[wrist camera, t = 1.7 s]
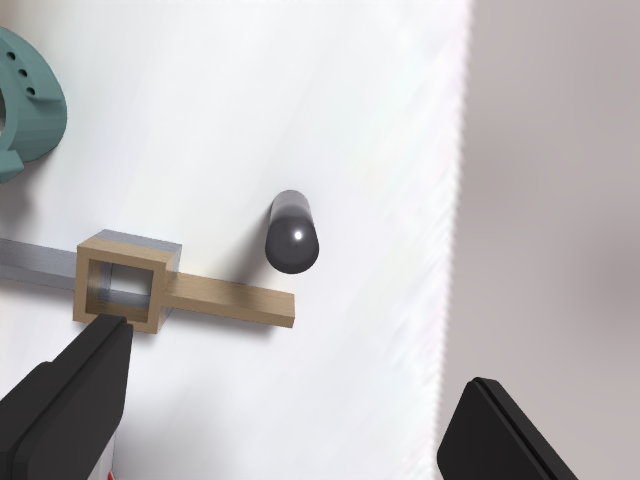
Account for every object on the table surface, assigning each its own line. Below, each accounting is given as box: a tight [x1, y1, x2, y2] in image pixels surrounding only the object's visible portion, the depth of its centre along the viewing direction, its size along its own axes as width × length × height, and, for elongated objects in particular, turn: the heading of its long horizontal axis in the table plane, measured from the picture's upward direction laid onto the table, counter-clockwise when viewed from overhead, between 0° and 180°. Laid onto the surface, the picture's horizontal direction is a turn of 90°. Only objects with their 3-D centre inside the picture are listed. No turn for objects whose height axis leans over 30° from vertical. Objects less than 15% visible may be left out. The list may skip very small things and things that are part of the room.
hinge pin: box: [265, 190, 319, 274], centre depth 25 cm, size 3×3×10 cm
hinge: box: [0, 229, 295, 334], centre depth 28 cm, size 26×6×4 cm, turn 76°
